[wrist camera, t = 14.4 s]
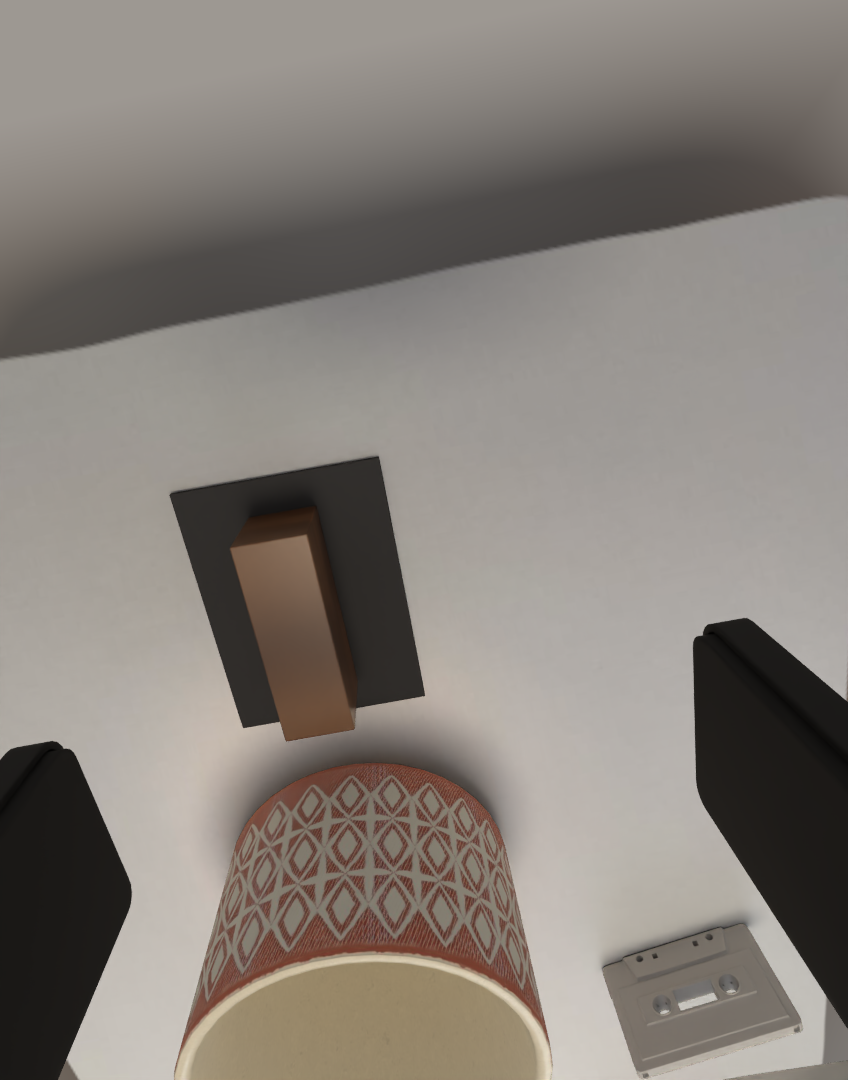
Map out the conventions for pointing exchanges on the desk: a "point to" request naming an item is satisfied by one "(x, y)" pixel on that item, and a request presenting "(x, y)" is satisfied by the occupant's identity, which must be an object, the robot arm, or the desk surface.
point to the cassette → (690, 974)
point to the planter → (367, 941)
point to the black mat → (356, 562)
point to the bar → (297, 621)
